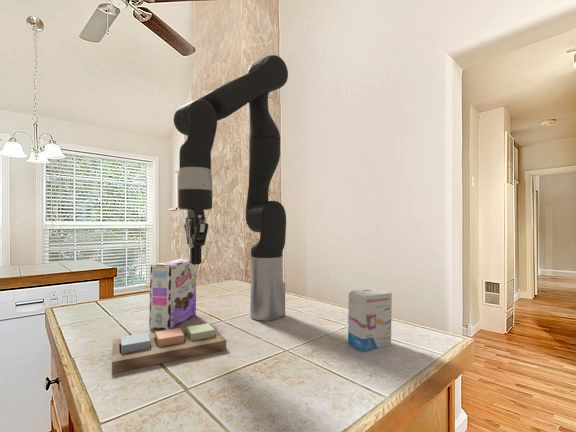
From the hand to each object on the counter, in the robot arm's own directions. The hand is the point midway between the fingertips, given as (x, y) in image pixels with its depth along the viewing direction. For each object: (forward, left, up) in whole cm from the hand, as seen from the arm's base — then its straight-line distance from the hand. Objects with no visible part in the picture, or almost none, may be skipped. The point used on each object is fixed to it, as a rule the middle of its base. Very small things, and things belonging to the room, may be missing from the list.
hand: (195, 263), depth 70 cm
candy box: (+2, -16, -18) cm, 24 cm away
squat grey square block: (+12, +3, -17) cm, 21 cm away
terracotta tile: (+6, +3, -17) cm, 18 cm away
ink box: (-33, +22, -18) cm, 43 cm away
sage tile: (-1, +3, -17) cm, 17 cm away
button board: (+6, +3, -17) cm, 19 cm away
